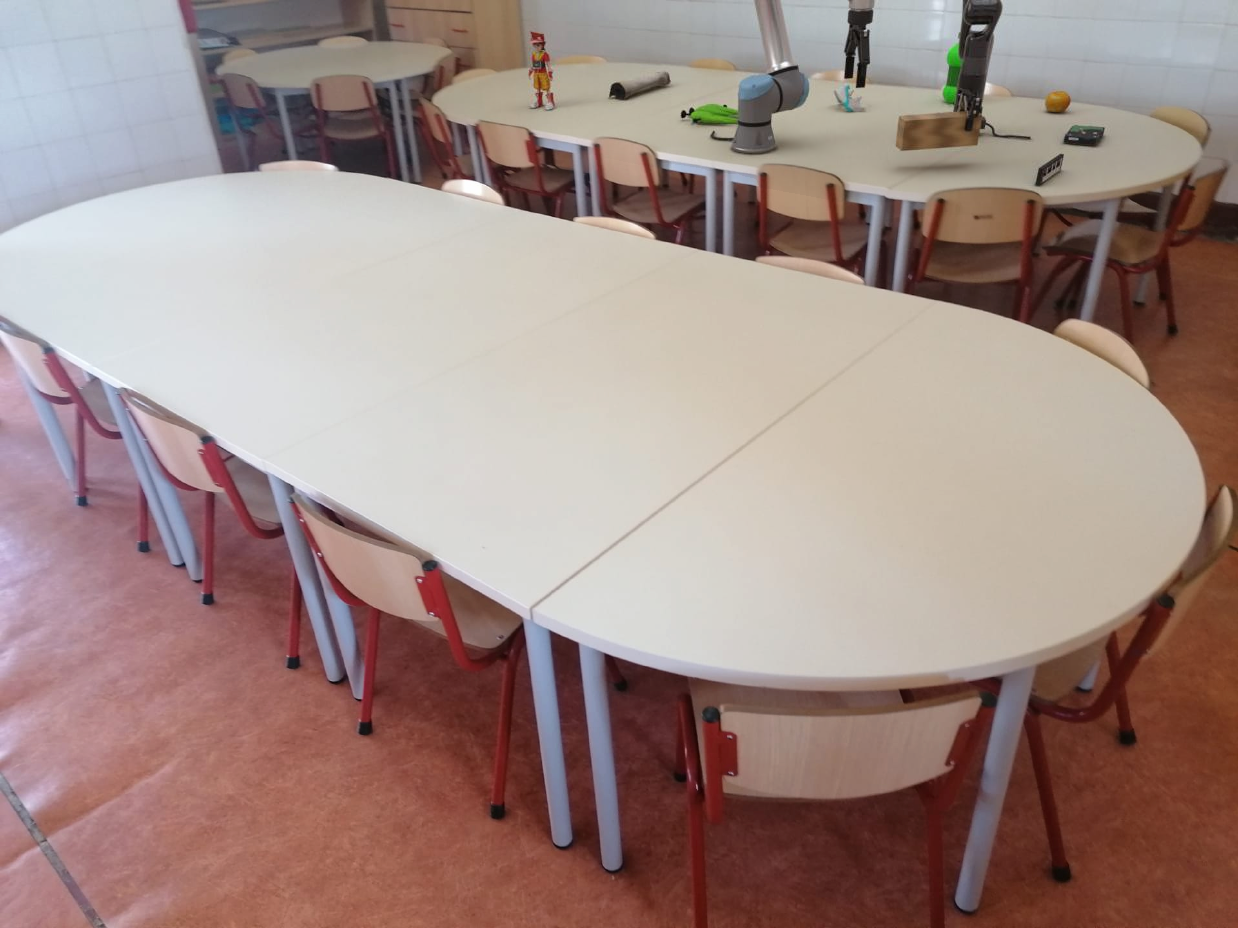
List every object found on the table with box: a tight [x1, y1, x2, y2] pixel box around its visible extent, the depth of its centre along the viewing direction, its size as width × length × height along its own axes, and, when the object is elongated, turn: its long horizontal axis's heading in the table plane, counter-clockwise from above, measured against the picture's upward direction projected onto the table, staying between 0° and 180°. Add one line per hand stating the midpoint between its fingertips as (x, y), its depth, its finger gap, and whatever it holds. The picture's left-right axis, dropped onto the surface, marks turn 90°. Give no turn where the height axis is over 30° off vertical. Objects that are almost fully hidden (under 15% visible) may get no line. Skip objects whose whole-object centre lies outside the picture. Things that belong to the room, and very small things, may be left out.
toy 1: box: [527, 31, 556, 111], centre depth 374 cm, size 12×9×30 cm
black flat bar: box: [1035, 153, 1065, 186], centre depth 273 cm, size 18×1×5 cm, turn 138°
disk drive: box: [1063, 124, 1106, 146], centre depth 304 cm, size 10×3×15 cm
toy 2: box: [680, 103, 738, 124], centre depth 349 cm, size 28×5×30 cm
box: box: [895, 111, 983, 152], centre depth 283 cm, size 24×6×9 cm, turn 93°
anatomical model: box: [833, 81, 867, 113], centre depth 353 cm, size 15×10×10 cm
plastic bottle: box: [942, 31, 962, 104], centre depth 348 cm, size 10×10×25 cm
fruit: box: [1044, 90, 1072, 113], centre depth 334 cm, size 8×8×8 cm
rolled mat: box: [608, 71, 672, 101], centre depth 395 cm, size 30×9×10 cm
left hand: (854, 83), depth 286 cm, fingers open, 13 cm apart
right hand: (964, 128), depth 283 cm, fingers closed on box, 6 cm apart
